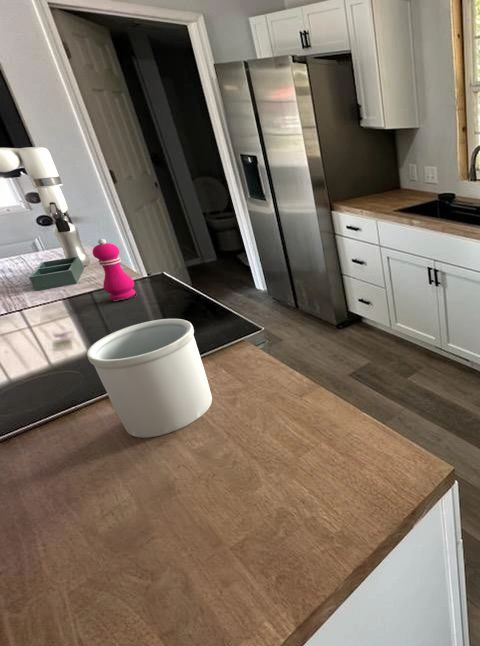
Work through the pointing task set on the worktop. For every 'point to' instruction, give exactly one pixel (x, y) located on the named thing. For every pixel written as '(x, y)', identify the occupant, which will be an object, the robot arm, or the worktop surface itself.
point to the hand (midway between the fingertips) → (66, 229)
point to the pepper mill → (113, 271)
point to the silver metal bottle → (72, 243)
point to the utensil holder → (153, 376)
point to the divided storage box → (57, 273)
